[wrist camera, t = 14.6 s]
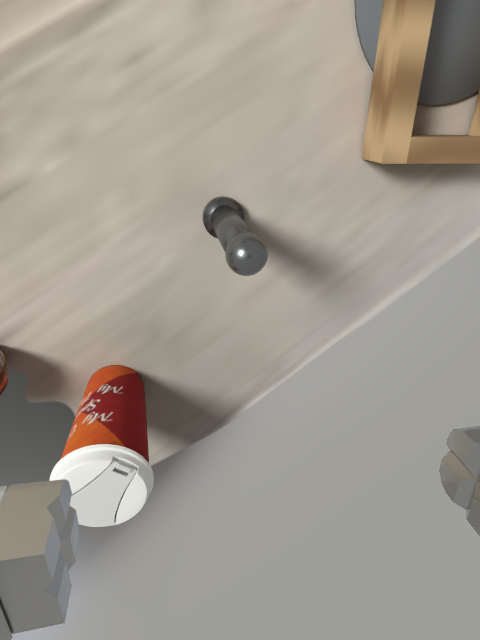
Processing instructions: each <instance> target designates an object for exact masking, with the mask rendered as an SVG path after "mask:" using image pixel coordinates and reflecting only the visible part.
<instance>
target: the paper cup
mask: <svg viewBox="0 0 480 640" xmlns="http://www.w3.org/2000/svg"><path fill="white" fill-rule="evenodd" d="M63 479H66V480H68V481H69V484H70V488H71V491H72V496H71V500H70V506H71V507H73V508H74V509H75V510H76V513H77V517H78V524H81V525H84V526H90V527H103V526H110V525H115V521H116V525H117V524H120V523H122V522H125V521H126V520H128V519H130V518H132V517H133V516H134V515H136V514H137V513H138V512H139V511H140V510H141V508H142V507H143V505H144V504H145V502H146V500H147V497H148V496H149V494H150V492H151V490H152V488H153V484H154V476H153V471H152V469H151V466H150V465H149V456H148V438H147V421H146V406H145V393H144V385H143V382H142V379H141V377H140V376H139V375H138V374H137V373H136V372H135V371H134V370H132V369H130V368H128V367H125V366H120V365H112V366H107V367H104V368H102V369H100V370H98V371H97V372H96V373H95V374H94V375H93V376H92V377H91V379H90V381H89V383H88V385H87V388H86V390H85V393H84V396H83V398H82V401H81V404H80V407H79V409H78V412H77V415H76V418H75V421H74V423H73V426H72V429H71V432H70V435H69V437H68V440H67V443H66V446H65V449H64V452H63V454H62V458H61V460H60V461H59V462H58V463H57V464H56V465H55V467H54V469H53V470H52V473H51V476H50V481H53V480H63Z"/></svg>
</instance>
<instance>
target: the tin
mask: <svg viewBox="0 0 480 640" xmlns="http://www.w3.org/2000/svg"><path fill="white" fill-rule="evenodd" d="M5 363H6V359H5V356H4V354H3V352H2V351H1V350H0V395H1V394H2V393H3V391H4V389H5V387H6V386H7V382H8V375H7V370H6V365H5Z"/></svg>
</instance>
